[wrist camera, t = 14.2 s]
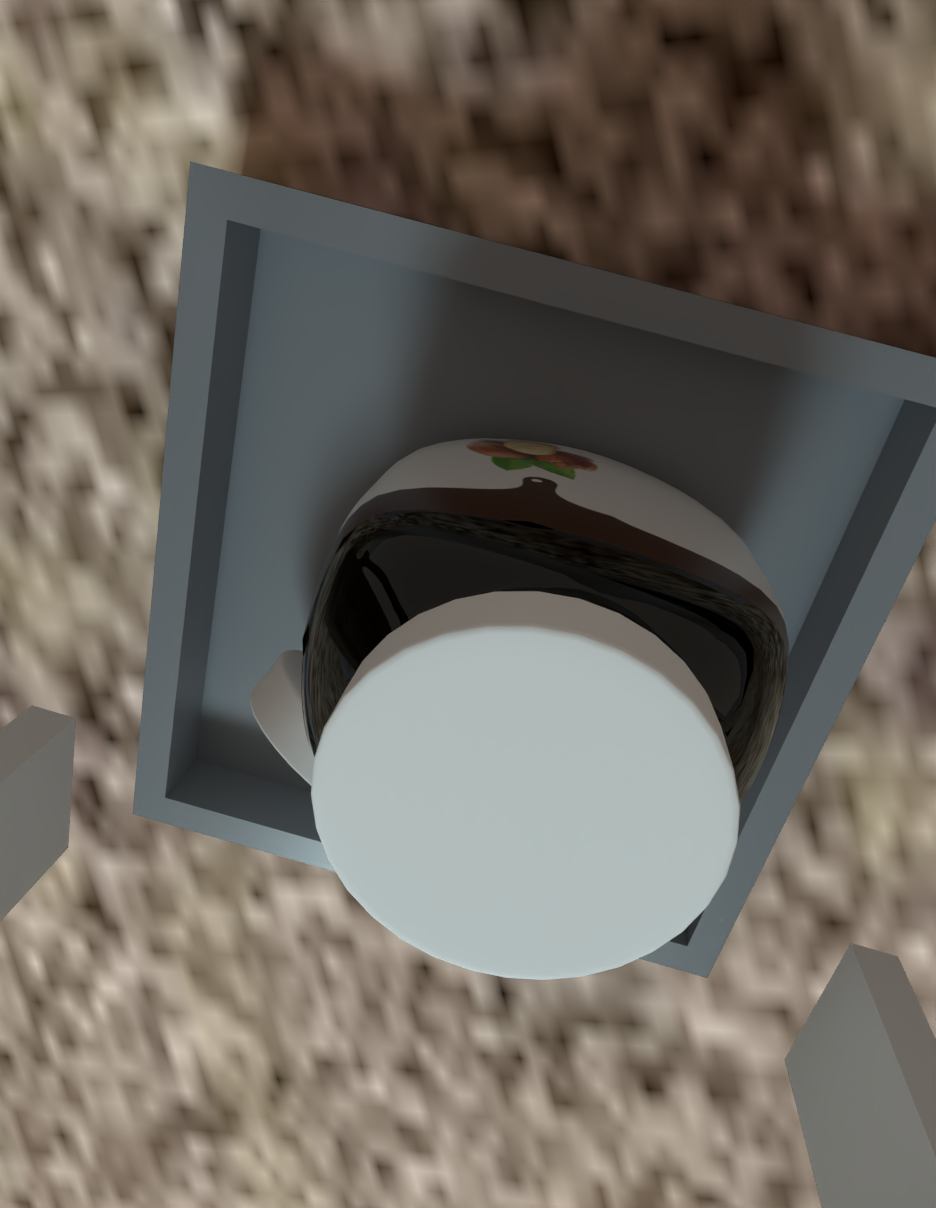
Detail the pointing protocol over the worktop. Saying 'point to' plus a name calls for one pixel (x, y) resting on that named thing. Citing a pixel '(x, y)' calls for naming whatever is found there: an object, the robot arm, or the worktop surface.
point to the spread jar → (530, 705)
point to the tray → (497, 411)
